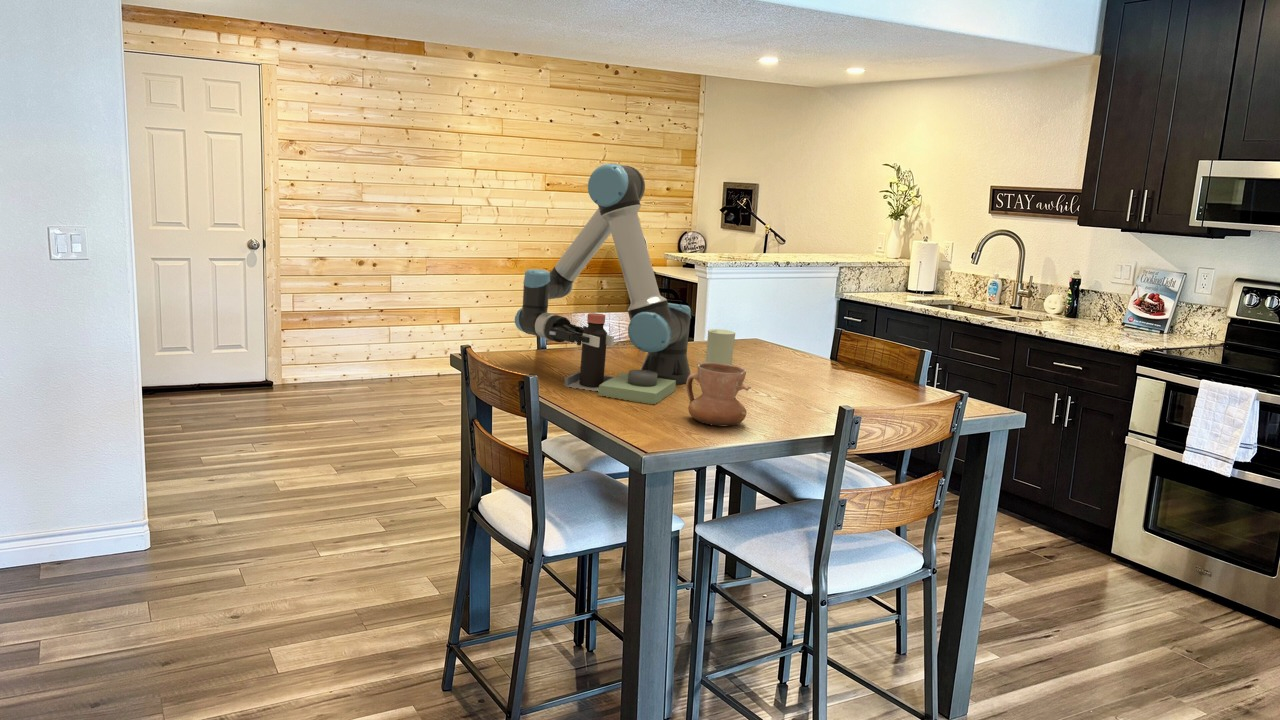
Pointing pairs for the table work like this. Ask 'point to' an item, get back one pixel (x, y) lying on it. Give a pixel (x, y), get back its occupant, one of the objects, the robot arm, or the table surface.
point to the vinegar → (593, 353)
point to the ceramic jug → (717, 394)
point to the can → (720, 346)
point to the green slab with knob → (629, 386)
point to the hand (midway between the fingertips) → (605, 341)
